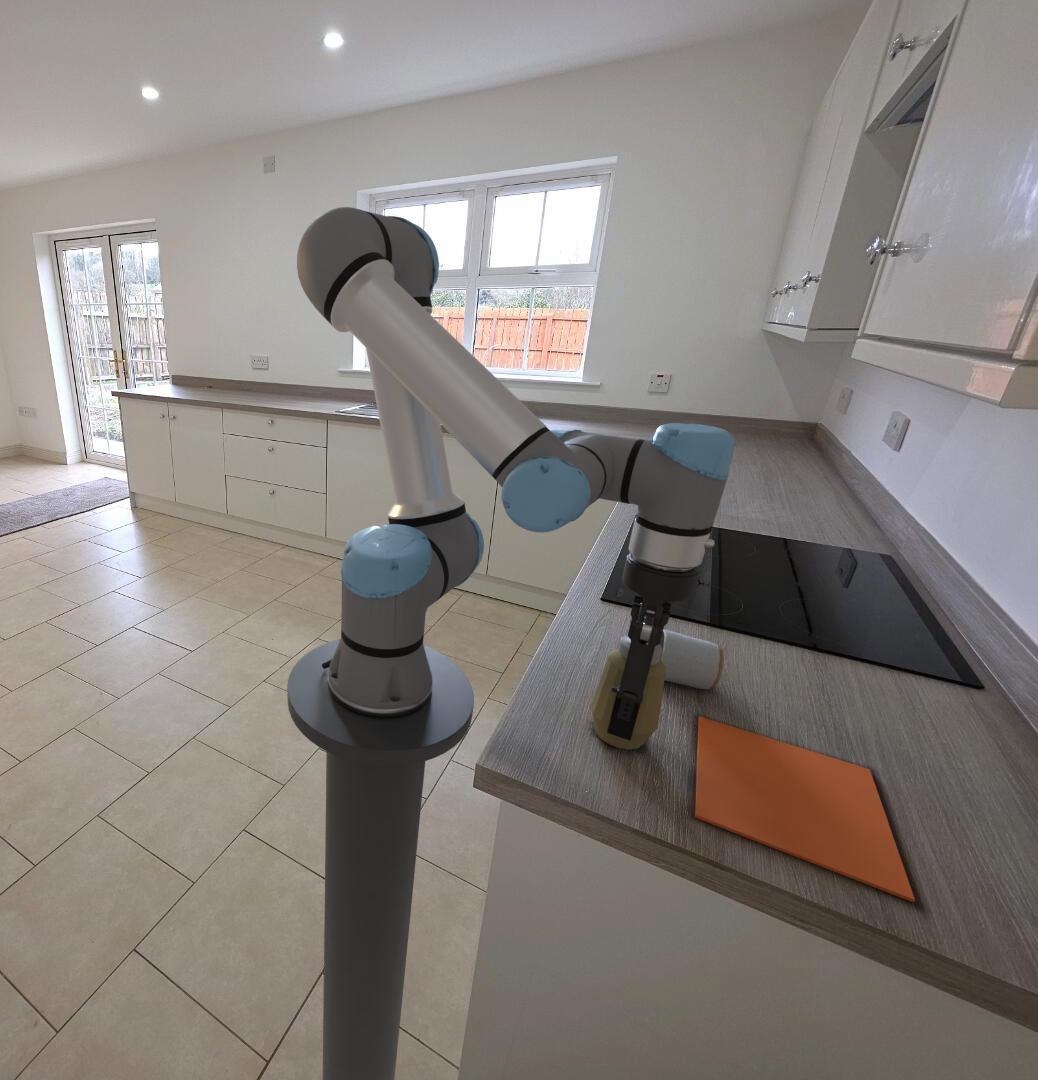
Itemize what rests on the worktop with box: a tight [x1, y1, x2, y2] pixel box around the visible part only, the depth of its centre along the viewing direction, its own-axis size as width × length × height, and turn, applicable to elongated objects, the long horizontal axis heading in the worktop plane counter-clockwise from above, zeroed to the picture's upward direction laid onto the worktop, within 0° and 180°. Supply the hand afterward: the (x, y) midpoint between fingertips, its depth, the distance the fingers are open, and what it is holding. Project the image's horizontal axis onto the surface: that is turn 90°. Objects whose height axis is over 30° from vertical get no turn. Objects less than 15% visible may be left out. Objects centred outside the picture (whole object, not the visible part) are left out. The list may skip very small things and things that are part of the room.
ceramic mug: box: [660, 629, 725, 690], centre depth 87 cm, size 11×8×8 cm
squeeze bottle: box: [590, 634, 666, 751], centre depth 72 cm, size 8×8×18 cm
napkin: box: [694, 715, 916, 903], centre depth 67 cm, size 18×20×1 cm
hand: (623, 715), depth 74 cm, fingers closed on squeeze bottle, 8 cm apart
